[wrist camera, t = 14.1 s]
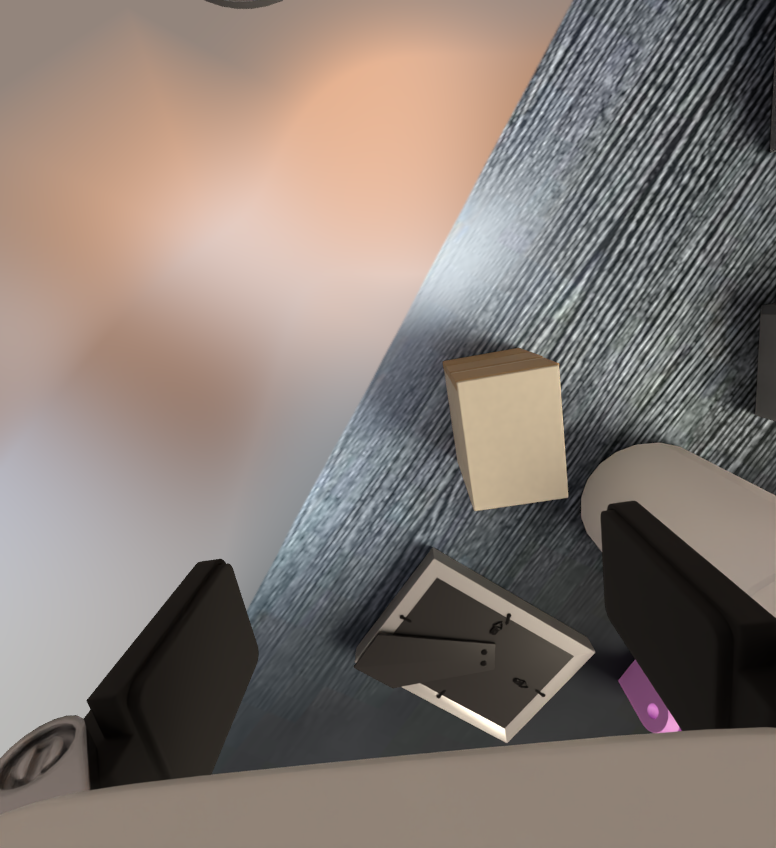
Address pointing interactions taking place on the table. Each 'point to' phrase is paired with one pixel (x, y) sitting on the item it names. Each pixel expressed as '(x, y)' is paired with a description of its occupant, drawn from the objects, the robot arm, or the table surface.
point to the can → (694, 510)
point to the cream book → (512, 433)
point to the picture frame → (471, 647)
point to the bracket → (647, 701)
